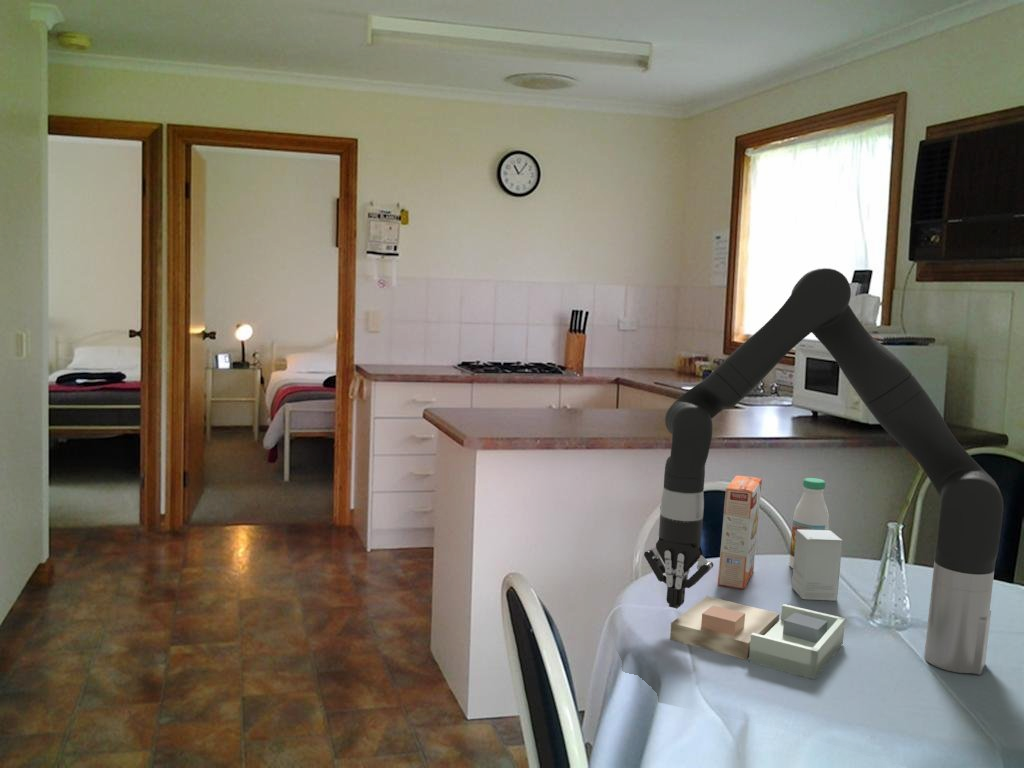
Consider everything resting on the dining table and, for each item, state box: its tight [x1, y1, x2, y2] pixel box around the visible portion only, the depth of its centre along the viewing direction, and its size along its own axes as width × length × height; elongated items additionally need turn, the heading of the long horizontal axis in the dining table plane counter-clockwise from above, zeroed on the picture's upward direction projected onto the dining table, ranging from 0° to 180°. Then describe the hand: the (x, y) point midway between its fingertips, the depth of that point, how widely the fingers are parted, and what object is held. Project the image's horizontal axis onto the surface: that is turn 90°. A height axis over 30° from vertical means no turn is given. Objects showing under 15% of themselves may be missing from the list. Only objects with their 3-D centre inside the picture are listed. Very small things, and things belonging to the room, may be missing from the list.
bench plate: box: [669, 595, 780, 661], centre depth 172 cm, size 14×17×3 cm
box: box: [748, 603, 846, 681], centre depth 165 cm, size 11×18×5 cm, turn 147°
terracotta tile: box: [701, 606, 745, 636], centre depth 168 cm, size 6×5×2 cm
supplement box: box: [791, 529, 843, 602], centre depth 195 cm, size 7×7×13 cm
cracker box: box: [717, 474, 763, 590], centre depth 202 cm, size 14×6×21 cm, turn 158°
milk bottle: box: [788, 477, 830, 569], centre depth 211 cm, size 8×8×20 cm
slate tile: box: [783, 613, 828, 643], centre depth 168 cm, size 6×5×2 cm
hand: (674, 606), depth 173 cm, fingers closed
